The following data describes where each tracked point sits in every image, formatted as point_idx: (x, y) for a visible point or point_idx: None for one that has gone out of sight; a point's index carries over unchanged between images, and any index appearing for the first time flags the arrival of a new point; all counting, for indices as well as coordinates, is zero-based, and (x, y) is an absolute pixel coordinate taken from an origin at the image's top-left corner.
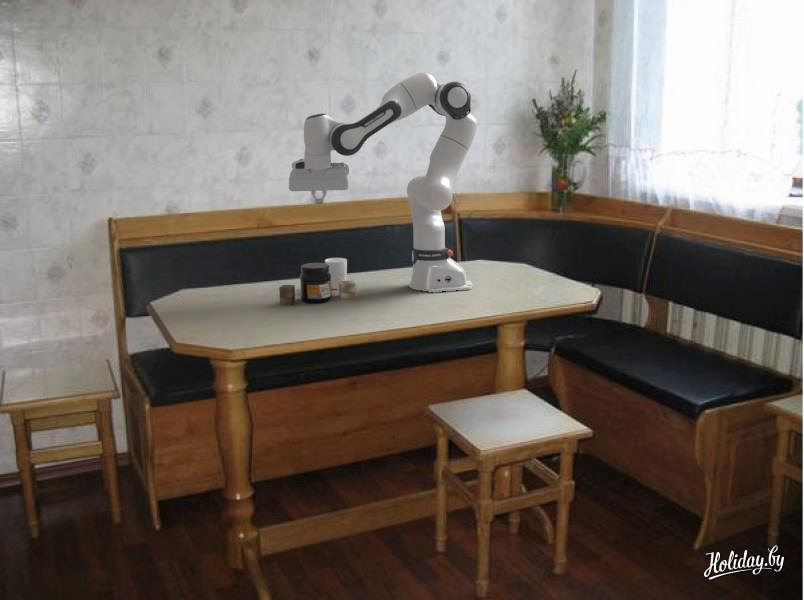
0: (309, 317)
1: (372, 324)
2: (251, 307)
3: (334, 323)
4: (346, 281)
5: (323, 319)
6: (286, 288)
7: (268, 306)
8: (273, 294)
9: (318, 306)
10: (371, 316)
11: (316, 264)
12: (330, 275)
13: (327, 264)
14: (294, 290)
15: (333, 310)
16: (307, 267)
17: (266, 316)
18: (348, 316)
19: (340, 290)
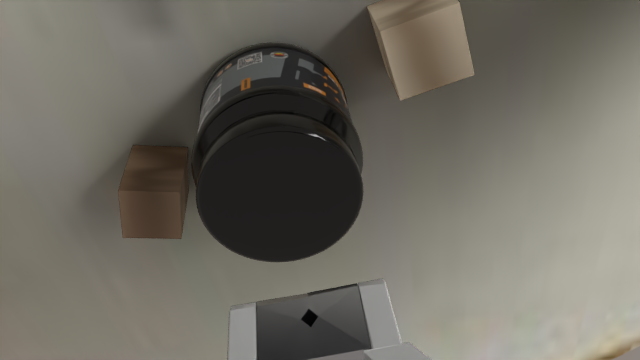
0: None
1: (499, 348)
2: (31, 229)
3: None
4: (425, 32)
5: None
6: (159, 236)
7: (95, 211)
8: (10, 7)
9: None
10: (502, 285)
11: (282, 176)
12: (361, 172)
13: (349, 173)
14: (182, 182)
15: (370, 237)
16: (248, 246)
17: (148, 317)
18: (428, 292)
19: (387, 65)
